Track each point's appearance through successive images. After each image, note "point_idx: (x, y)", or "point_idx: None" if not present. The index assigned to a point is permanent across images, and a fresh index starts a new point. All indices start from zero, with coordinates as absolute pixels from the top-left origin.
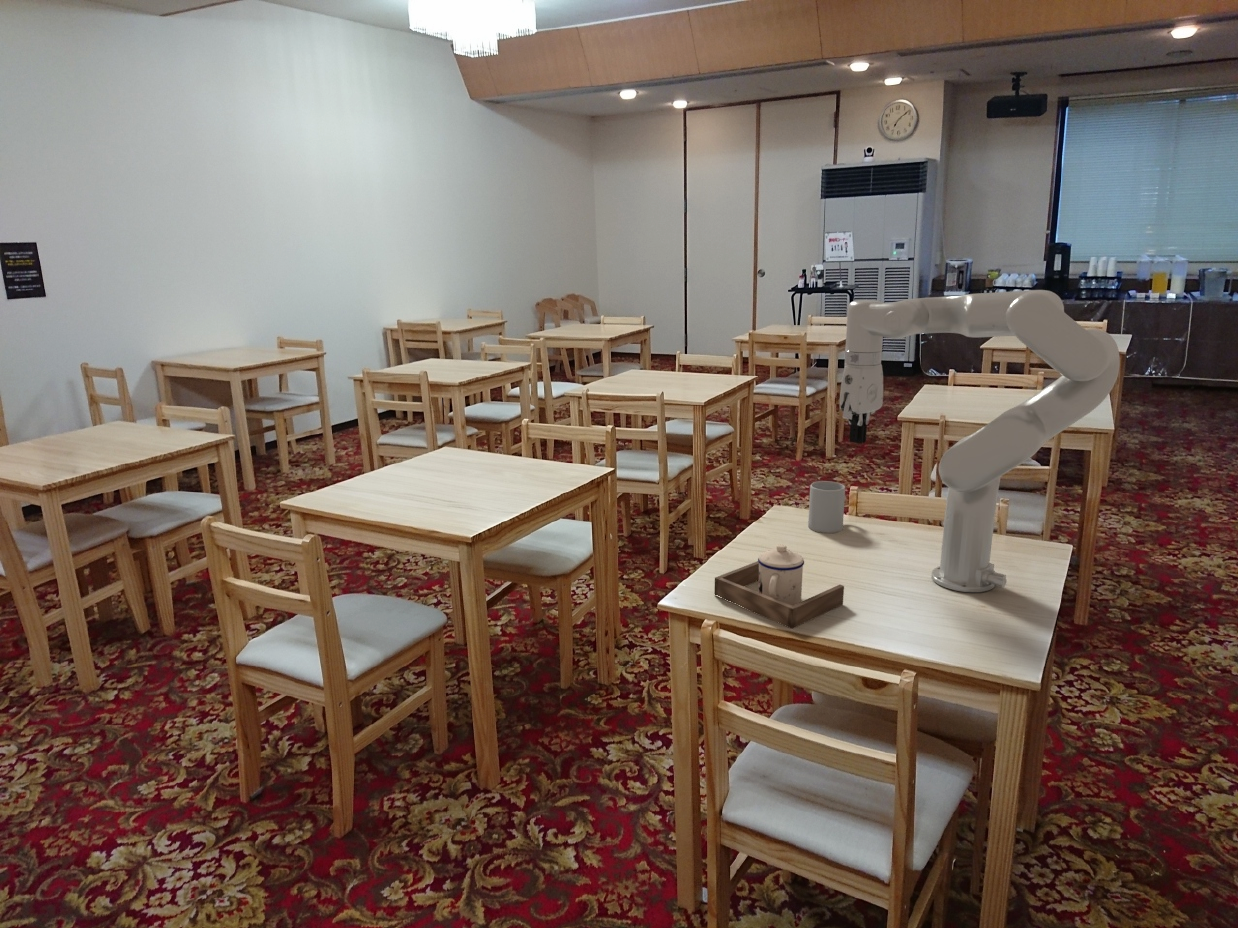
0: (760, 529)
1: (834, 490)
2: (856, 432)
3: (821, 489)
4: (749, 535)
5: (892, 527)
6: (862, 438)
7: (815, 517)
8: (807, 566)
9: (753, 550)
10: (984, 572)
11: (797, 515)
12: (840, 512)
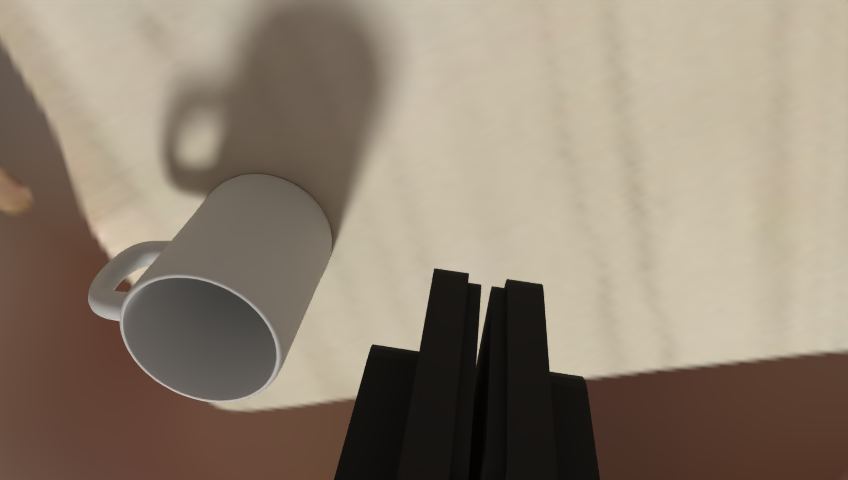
0: None
1: (236, 292)
2: (592, 467)
3: (184, 357)
4: None
5: (47, 29)
6: (536, 323)
7: (319, 274)
8: (710, 89)
9: (658, 311)
10: None
11: None
12: (238, 213)
